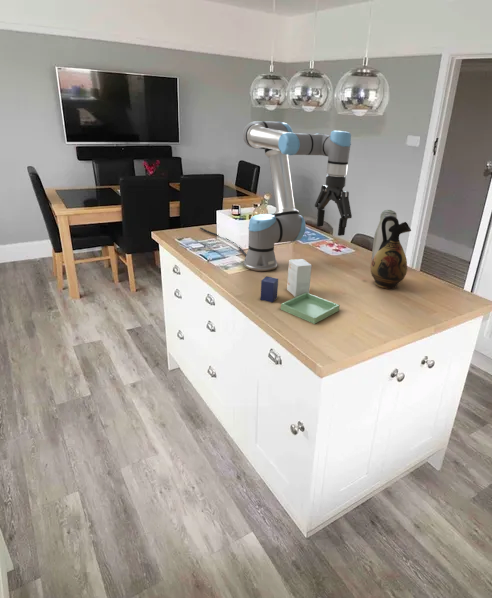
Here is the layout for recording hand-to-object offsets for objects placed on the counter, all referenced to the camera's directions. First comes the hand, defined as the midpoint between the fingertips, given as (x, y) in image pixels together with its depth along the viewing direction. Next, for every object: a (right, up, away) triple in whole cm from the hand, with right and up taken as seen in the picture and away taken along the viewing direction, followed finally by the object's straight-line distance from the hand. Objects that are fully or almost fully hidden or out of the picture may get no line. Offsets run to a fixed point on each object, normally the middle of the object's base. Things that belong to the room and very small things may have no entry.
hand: (330, 230), depth 165 cm
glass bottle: (+28, -12, +39) cm, 49 cm away
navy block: (-24, -27, -4) cm, 36 cm away
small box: (-13, -25, +4) cm, 28 cm away
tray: (-8, -31, -10) cm, 34 cm away
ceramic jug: (+25, -21, +19) cm, 38 cm away
